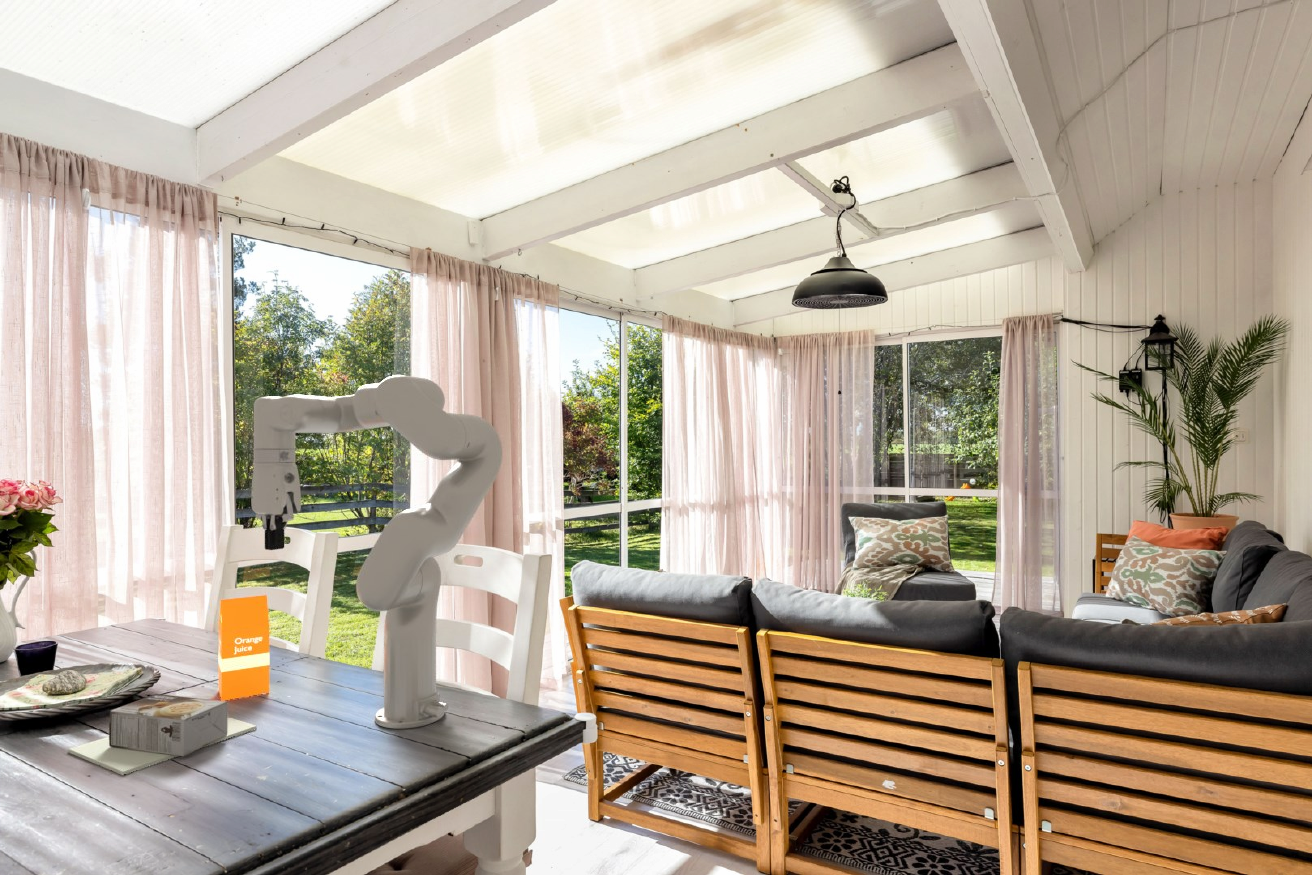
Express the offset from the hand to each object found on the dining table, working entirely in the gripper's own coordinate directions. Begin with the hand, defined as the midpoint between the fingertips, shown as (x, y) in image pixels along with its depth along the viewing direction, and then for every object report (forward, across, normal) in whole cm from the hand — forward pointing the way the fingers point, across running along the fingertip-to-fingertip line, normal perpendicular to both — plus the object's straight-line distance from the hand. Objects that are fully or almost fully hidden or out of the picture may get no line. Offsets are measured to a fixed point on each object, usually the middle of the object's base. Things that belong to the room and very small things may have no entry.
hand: (274, 548), depth 151 cm
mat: (+31, -1, +21) cm, 38 cm away
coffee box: (+27, -12, +20) cm, 36 cm away
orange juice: (+31, +12, -1) cm, 34 cm away
